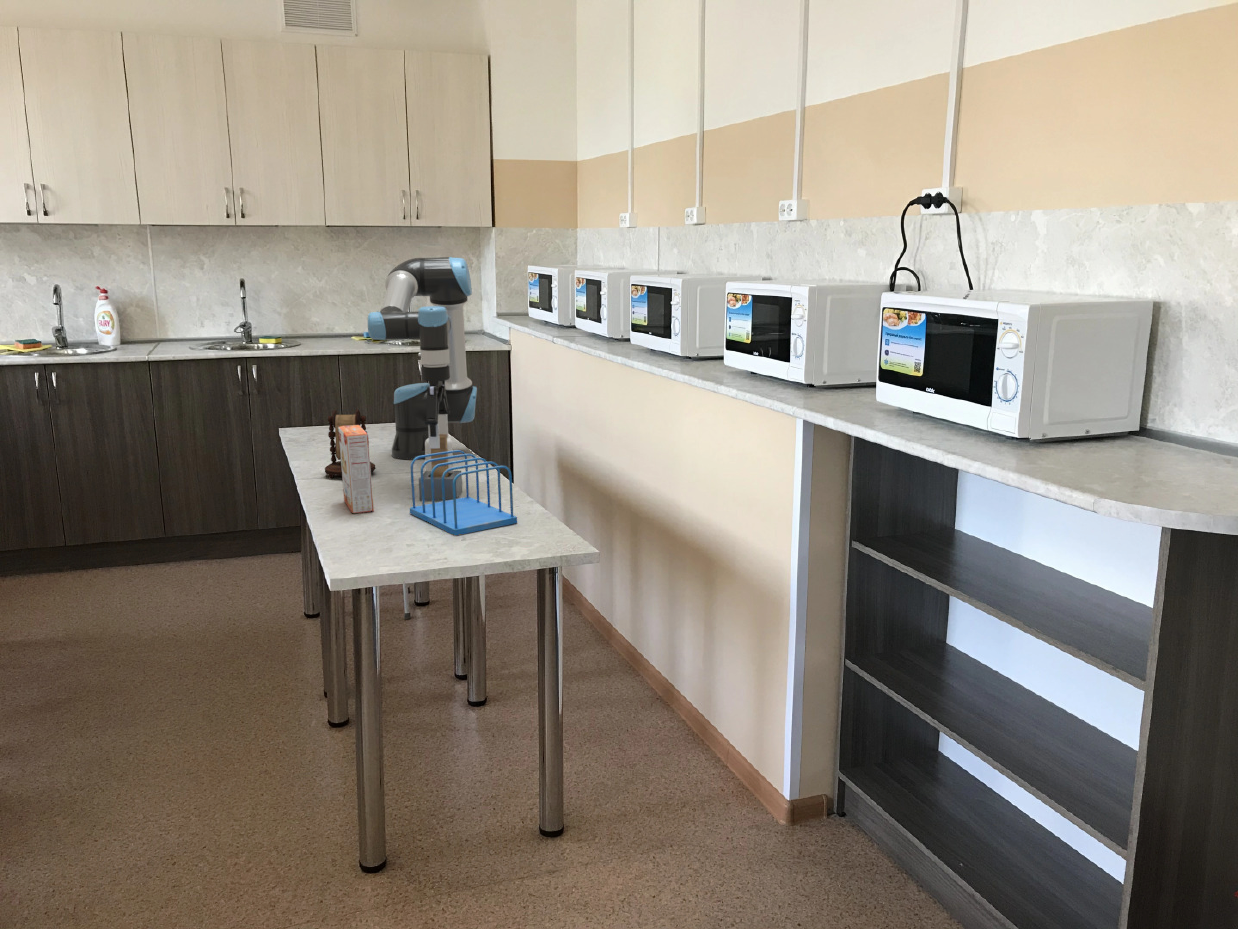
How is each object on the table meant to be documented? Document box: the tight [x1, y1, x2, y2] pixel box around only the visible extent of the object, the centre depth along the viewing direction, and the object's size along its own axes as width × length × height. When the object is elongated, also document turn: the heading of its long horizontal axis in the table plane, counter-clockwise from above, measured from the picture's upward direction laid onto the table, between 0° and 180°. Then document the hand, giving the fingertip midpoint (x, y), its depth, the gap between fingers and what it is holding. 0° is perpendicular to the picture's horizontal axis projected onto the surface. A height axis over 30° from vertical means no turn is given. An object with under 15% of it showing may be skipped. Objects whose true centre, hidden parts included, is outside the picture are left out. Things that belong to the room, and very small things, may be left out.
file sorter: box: [409, 449, 518, 536], centre depth 247 cm, size 25×17×15 cm
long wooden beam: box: [431, 434, 449, 477], centre depth 270 cm, size 3×4×16 cm
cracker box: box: [338, 424, 374, 514], centre depth 259 cm, size 14×6×21 cm, turn 23°
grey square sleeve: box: [418, 470, 463, 502], centre depth 271 cm, size 10×10×6 cm
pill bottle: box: [424, 437, 454, 471], centre depth 290 cm, size 8×8×15 cm
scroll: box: [324, 408, 377, 480], centre depth 296 cm, size 15×15×20 cm
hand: (439, 442), depth 269 cm, fingers open, 13 cm apart
